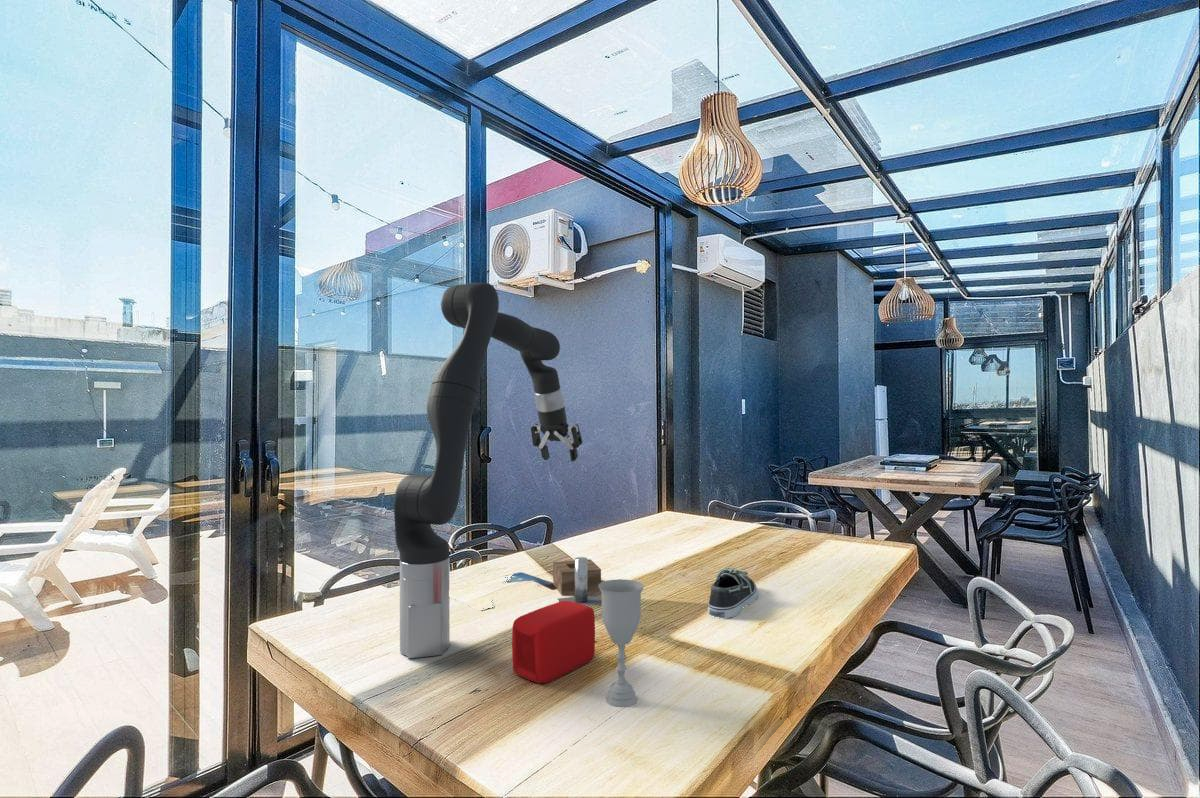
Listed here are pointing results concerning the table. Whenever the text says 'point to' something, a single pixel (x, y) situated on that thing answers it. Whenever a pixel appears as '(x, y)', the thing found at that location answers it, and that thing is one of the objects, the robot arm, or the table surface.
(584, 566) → the pin
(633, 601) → the chalice
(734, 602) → the boat shoe
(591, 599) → the mat
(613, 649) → the table surface
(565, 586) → the socket block
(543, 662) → the decorative item
